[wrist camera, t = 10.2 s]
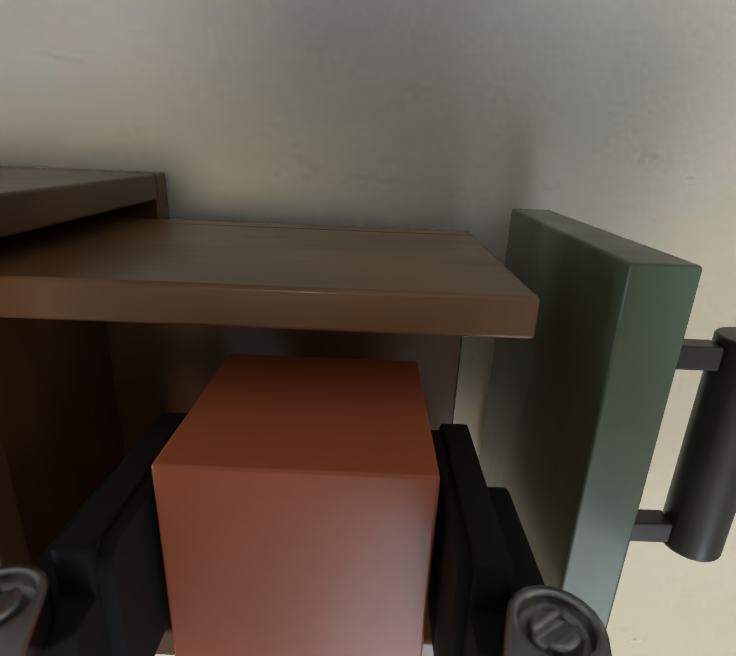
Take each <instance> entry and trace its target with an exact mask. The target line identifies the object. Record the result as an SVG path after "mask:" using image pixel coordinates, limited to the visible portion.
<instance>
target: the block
mask: <svg viewBox="0 0 736 656" xmlns="http://www.w3.org/2000/svg"><path fill="white" fill-rule="evenodd" d="M152 475H153V483H154V491H155V499H156V507H157V515H158V523H159V531H160V538H161V546H162V554H163V562H164V570H165V578H166V586H167V594H168V602H169V610H170V618H171V626H172V634H173V641H174V649H175V656H422V650H423V640H424V631H425V621H426V611H427V602H428V592H429V582H430V573H431V563H432V553H433V544H434V534H435V524H436V515H437V505H438V495H439V486H440V474H439V469H438V464H437V458H436V453H435V448H434V443H433V438H432V433H431V427H430V422H429V417H428V412H427V407H426V401H425V396H424V391H423V386H422V381H421V376H420V370H419V365H418V362H416V361H393V360H369V359H344V358H320V357H296V356H272V355H247V354H229V356H228V357H227V358H226V360H225V361H224V363H223V364H222V366H221V367H220V368H219V370H218V371H217V373H216V374H215V376H214V377H213V378H212V380H211V381H210V383H209V384H208V385H207V387H206V388H205V390H204V391H203V393H202V394H201V395H200V397H199V398H198V400H197V401H196V403H195V404H194V405H193V407H192V408H191V410H190V411H189V412H188V414H187V415H186V417H185V418H184V420H183V421H182V422H181V424H180V425H179V427H178V428H177V430H176V431H175V432H174V434H173V435H172V437H171V438H170V439H169V441H168V442H167V444H166V445H165V447H164V448H163V449H162V451H161V452H160V454H159V455H158V457H157V458H156V459H155V461H154V462H153V464H152Z"/></svg>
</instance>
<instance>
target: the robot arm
mask: <svg viewBox="0 0 736 656" xmlns="http://www.w3.org/2000/svg"><path fill="white" fill-rule="evenodd" d="M187 414H188V413H173V412H162V413H161V414H160V415H159V416H158V417H157V418H156V419H155V421H154V422H153V423H152V424H151V426H150V427H149V428H148V429H147V431H146V432H145V433H144V434H143V436H142V437H141V438H140V439H139V441H138V442H137V443H136V444H135V446H134V447H133V448H132V449H131V450H130V452H129V453H128V454H127V455H126V457H125V458H124V459H123V460H122V462H121V463H120V464H119V465H118V467H117V468H116V469H115V470H114V472H111V473H109V474H108V475H107V476H106V477H105V478H104V479H103V480H102V482H101V483H100V484H99V485H98V486H97V488H96V489H95V490H94V491H93V493H92V494H91V495H90V496H89V498H88V499H87V500H86V501H85V502H84V504H83V505H82V506H81V507H80V509H79V510H78V511H77V512H76V513H75V515H74V516H73V517H72V518H71V520H70V521H69V522H68V523H67V524H66V526H65V527H64V528H63V529H62V531H61V532H60V533H59V534H58V535H57V537H56V538H55V539H54V540H53V542H52V543H51V544H50V545H49V546H48V548H47V549H46V550H45V551H44V553H43V554H42V555H41V556H40V557H39V559H38V560H37V561H36V562H35V564H34V565H30V564H9V565H5V566H1V567H0V656H155V654H156V651H157V649H158V647H159V644H160V642H161V640H162V638H163V635H164V633H165V631H166V628H167V626H168V624H169V621H170V619H171V618H170V610H169V602H168V594H167V586H166V578H165V570H164V562H163V554H162V546H161V538H160V531H159V523H158V515H157V507H156V499H155V491H154V483H153V475H152V464H153V462H154V461H155V459H156V458H157V457H158V455H159V454H160V452H161V451H162V449H163V448H164V447H165V445H166V444H167V442H168V441H169V439H170V438H171V437H172V435H173V434H174V432H175V431H176V430H177V428H178V427H179V425H180V424H181V422H182V421H183V420H184V418H185V417H186V415H187ZM431 433H432V438H433V443H434V448H435V453H436V458H437V464H438V469H439V474H440V486H439V495H438V505H437V515H436V524H435V534H434V544H433V553H432V563H431V573H430V582H429V592H428V610H429V619H430V628H431V637H432V646H433V654H434V656H612V654H611V648H610V642H609V637H608V634H607V631H606V629H605V626H604V624H603V622H602V621H601V619H600V618H599V617H598V615H597V614H596V612H595V611H594V610H593V609H592V608H590V607H589V606H588V605H587V604H586V603H585V602H584V601H583V600H581V599H580V598H578V597H576V596H575V595H573V594H571V593H570V592H567V591H565V590H562V589H559V588H556V587H553V586H545V584H544V581H543V579H542V576H541V574H540V571H539V568H538V566H537V563H536V561H535V558H534V555H533V553H532V550H531V548H530V545H529V542H528V540H527V537H526V535H525V532H524V529H523V527H522V524H521V522H520V519H519V516H518V514H517V511H516V509H515V506H514V503H513V501H512V498H511V496H510V493H509V491H508V490H507V489H506V488H505V487H487V484H486V481H485V478H484V475H483V472H482V469H481V466H480V463H479V460H478V457H477V454H476V451H475V448H474V445H473V442H472V438H471V435H470V432H469V429H468V427H467V425H465V424H440V428H439V430H431Z"/></svg>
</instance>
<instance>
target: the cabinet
mask: <svg viewBox="0 0 736 656" xmlns="http://www.w3.org/2000/svg"><path fill="white" fill-rule="evenodd" d="M88 216H102V217H127V218H152V219H169V215H168V204H167V193H166V183H165V174H164V173H162V172H139V171H115V170H90V169H65V168H41V167H16V166H0V238H2V237H6V236H10V235H14V234H18V233H22V232H26V231H31V230H35V229H39V228H43V227H47V226H51V225H55V224H59V223H63V222H68V221H72V220H76V219H80V218H84V217H88ZM9 564H30V565H32V561H31V556H30V552H29V548H28V544H27V540H26V535H25V531H24V527H23V523H22V519H21V514H20V510H19V506H18V502H17V497H16V493H15V489H14V485H13V481H12V476H11V472H10V468H9V464H8V460H7V455H6V451H5V447H4V443H3V439H2V434H1V430H0V567H1V566H5V565H9Z"/></svg>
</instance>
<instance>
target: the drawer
mask: <svg viewBox="0 0 736 656" xmlns="http://www.w3.org/2000/svg"><path fill="white" fill-rule="evenodd" d="M701 272H702V267H701V266H699V265H697V264H694V263H691V262H689V261H686V260H683V259H680V258H678V257H675V256H672V255H669V254H667V253H664V252H661V251H659V250H656V249H653V248H650V247H648V246H645V245H642V244H640V243H637V242H634V241H631V240H629V239H626V238H623V237H620V236H618V235H615V234H612V233H610V232H607V231H604V230H601V229H599V228H596V227H593V226H590V225H588V224H585V223H582V222H580V221H577V220H574V219H571V218H569V217H566V216H563V215H561V214H558V213H555V212H552V211H550V210H531V209H513V210H512V214H511V221H510V229H509V236H508V244H507V252H506V259H505V266H504V265H503V264H502V263H501V262H500V261H499V260H498V259H497V258H496V257H495V256H493V255H492V254H491V253H490V252H489V251H488V250H487V249H486V248H485V247H484V246H483V245H482V244H481V243H479V242H478V241H477V240H476V239H475V238H474V237H473V236H472V235H471V234H470V233H469V232H468V231H447V230H422V229H398V228H373V227H349V226H324V225H299V224H275V223H250V222H226V221H201V220H176V219H152V218H127V217H102V216H88V217H84V218H80V219H76V220H72V221H68V222H63V223H59V224H55V225H51V226H47V227H43V228H39V229H35V230H31V231H26V232H22V233H18V234H14V235H10V236H6V237H2V238H0V430H1V434H2V439H3V443H4V447H5V451H6V455H7V460H8V464H9V468H10V472H11V476H12V481H13V485H14V489H15V493H16V497H17V502H18V506H19V510H20V514H21V519H22V523H23V527H24V531H25V535H26V540H27V544H28V548H29V552H30V556H31V561H32V565H34V564H35V562H36V561H37V560H38V559H39V557H40V556H41V555H42V554H43V553H44V551H45V550H46V549H47V548H48V546H49V545H50V544H51V543H52V542H53V540H54V539H55V538H56V537H57V535H58V534H59V533H60V532H61V531H62V529H63V528H64V527H65V526H66V524H67V523H68V522H69V521H70V520H71V518H72V517H73V516H74V515H75V513H76V512H77V511H78V510H79V509H80V507H81V506H82V505H83V504H84V502H85V501H86V500H87V499H88V498H89V496H90V495H91V494H92V493H93V491H94V490H95V489H96V488H97V486H98V485H99V484H100V483H101V482H102V480H103V479H104V478H105V477H106V476H107V475H108V474H109V473H111V472H114V470H115V469H116V468H117V467H118V465H119V464H120V463H121V462H122V460H123V459H124V458H125V457H126V455H127V454H128V453H129V452H130V450H131V449H132V448H133V447H134V446H135V444H136V443H137V442H138V441H139V439H140V438H141V437H142V436H143V434H144V433H145V432H146V431H147V429H148V428H149V427H150V426H151V424H152V423H153V422H154V421H155V419H156V418H157V417H158V416H159V415H160V414H161V413H162V412H173V413H188V412H189V411H190V410H191V408H192V407H193V405H194V404H195V403H196V401H197V400H198V398H199V397H200V395H201V394H202V393H203V391H204V390H205V388H206V387H207V385H208V384H209V383H210V381H211V380H212V378H213V377H214V376H215V374H216V373H217V371H218V370H219V368H220V367H221V366H222V364H223V363H224V361H225V360H226V358H227V357H228V356H229V354H247V355H272V356H296V357H320V358H344V359H369V360H393V361H416V362H418V365H419V370H420V376H421V381H422V386H423V391H424V396H425V401H426V407H427V412H428V417H429V422H430V427H431V430H439V428H440V424H453V417H454V408H455V399H456V389H457V380H458V371H459V362H460V352H461V343H462V336H470V337H495V343H494V350H493V358H492V366H491V373H490V381H489V388H488V396H487V404H486V411H485V419H484V426H483V434H482V441H481V449H480V457H479V463H480V466H481V469H482V472H483V475H484V478H485V481H486V484H487V487H505V488H506V489H507V490H508V491H509V493H510V496H511V498H512V501H513V503H514V506H515V509H516V511H517V514H518V516H519V519H520V522H521V524H522V527H523V529H524V532H525V535H526V537H527V540H528V542H529V545H530V548H531V550H532V553H533V555H534V558H535V561H536V563H537V566H538V568H539V571H540V574H541V576H542V579H543V581H544V584H545V586H553V587H556V588H559V589H562V590H565V591H567V592H570V593H571V594H573V595H575V596H576V597H578V598H580V599H581V600H583V601H584V602H585V603H586V604H587V605H588V606H589V607H590V608H592V609H593V610H594V611H595V612H596V614H597V615H598V617H599V618H600V619H601V621H602V622H603V624H604V626H605V629H606V628H607V624H608V621H609V617H610V613H611V609H612V606H613V602H614V598H615V594H616V591H617V587H618V583H619V579H620V576H621V572H622V568H623V564H624V561H625V557H626V553H627V549H628V546H629V542H630V541H648V542H664V544H665V545H666V546H668V547H669V548H670V549H671V550H673V551H674V552H676V553H678V554H679V555H681V556H683V557H686V558H688V559H691V560H695V561H700V562H712V561H715V560H717V559H718V558H719V557H720V556H721V553H722V551H723V548H724V545H725V542H726V539H727V536H728V533H729V530H730V527H731V525H732V522H733V519H734V516H735V513H736V327H722V328H718V329H716V331H715V332H714V335H713V338H712V341H711V340H698V339H684V336H685V332H686V328H687V324H688V321H689V317H690V313H691V309H692V306H693V302H694V298H695V294H696V291H697V287H698V283H699V279H700V276H701ZM675 369H684V370H703V373H702V377H701V380H700V384H699V387H698V391H697V394H696V398H695V401H694V404H693V408H692V411H691V415H690V418H689V422H688V425H687V429H686V432H685V436H684V439H683V443H682V446H681V450H680V453H679V457H678V460H677V464H676V467H675V471H674V474H673V478H672V481H671V485H670V488H669V492H668V495H667V499H666V502H665V506H664V509H663V512H662V511H661V510H642V509H638V508H639V504H640V501H641V497H642V493H643V489H644V486H645V482H646V478H647V474H648V471H649V467H650V463H651V459H652V456H653V452H654V448H655V444H656V441H657V437H658V433H659V429H660V426H661V422H662V418H663V414H664V411H665V407H666V403H667V399H668V396H669V392H670V388H671V384H672V381H673V377H674V373H675ZM156 654H166V655H175V649H174V641H173V634H172V626H171V619H170V621H169V624H168V626H167V628H166V631H165V633H164V635H163V638H162V640H161V642H160V644H159V647H158V649H157V651H156ZM422 656H434V654H433V646H432V637H431V628H430V619H429V610H428V602H427V611H426V621H425V631H424V640H423V650H422Z"/></svg>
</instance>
